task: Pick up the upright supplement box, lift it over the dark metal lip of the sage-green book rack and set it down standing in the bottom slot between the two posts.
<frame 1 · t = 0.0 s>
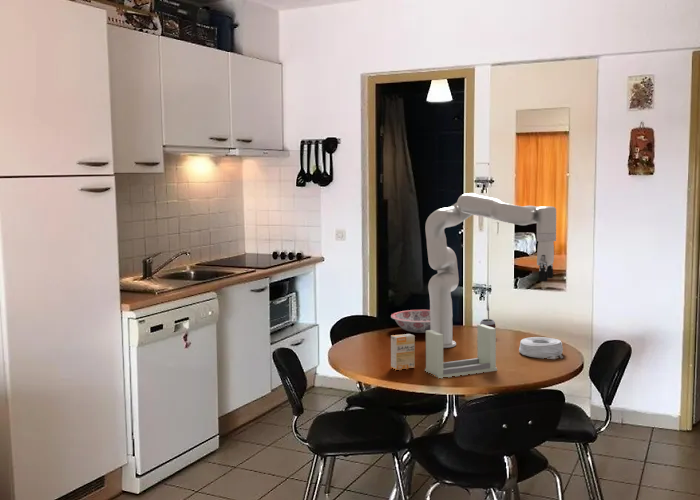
hand: (546, 279, 293), 31 cm above the table, tool pointing down, fingers open, 9 cm apart
ceramic bowl: (421, 332, 345), on the table
cable: (540, 354, 298), on the table
book rack: (460, 371, 275), on the table
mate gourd: (487, 337, 330), on the table
supplement box: (403, 369, 280), on the table
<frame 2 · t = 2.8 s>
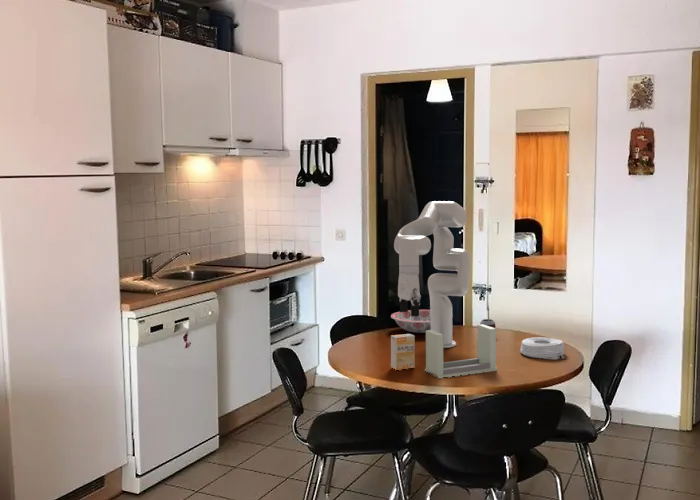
hand: (409, 313, 278), 21 cm above the table, tool pointing down, fingers open, 9 cm apart
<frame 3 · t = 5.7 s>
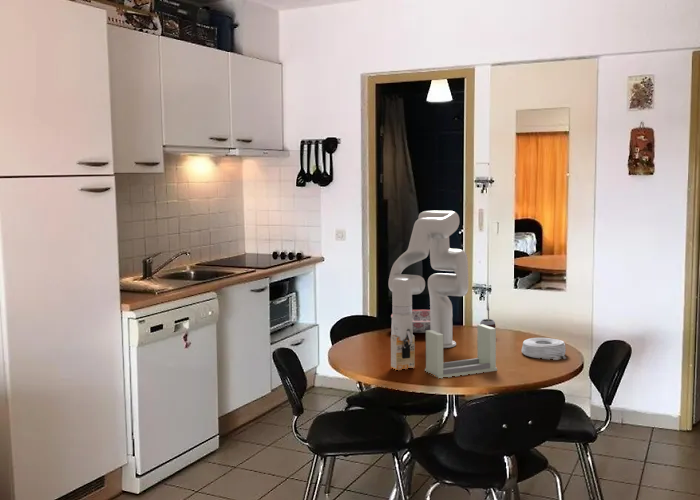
hand: (402, 355, 280), 5 cm above the table, tool pointing down, fingers closed on supplement box, 4 cm apart
supplement box: (403, 369, 280), on the table, touching gripper
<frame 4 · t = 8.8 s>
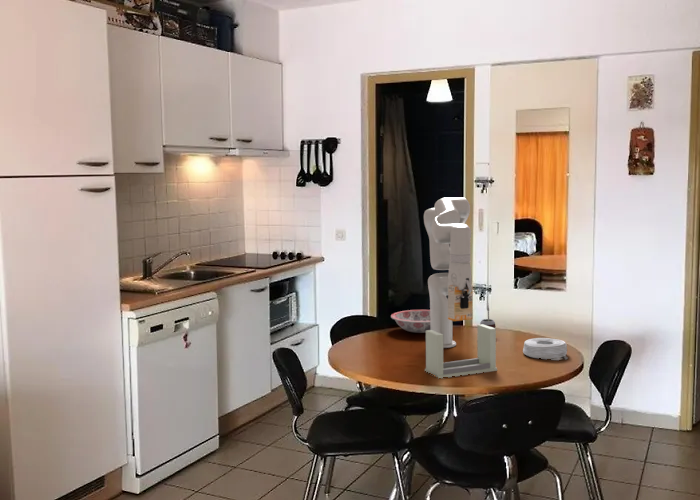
hand: (460, 306, 272), 25 cm above the table, tool pointing down, fingers closed on supplement box, 4 cm apart
supplement box: (460, 320, 273), point 20 cm above the table, touching gripper
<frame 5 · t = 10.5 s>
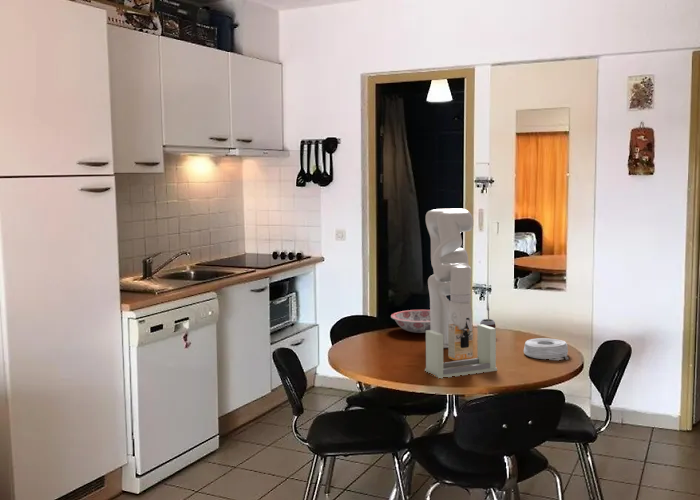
hand: (460, 345, 274), 10 cm above the table, tool pointing down, fingers closed on supplement box, 4 cm apart
supplement box: (460, 358, 274), point 5 cm above the table, touching gripper
when the fingers open (6 cm above the table, at t = 12.0 s): supplement box stays where it is, resting on book rack.
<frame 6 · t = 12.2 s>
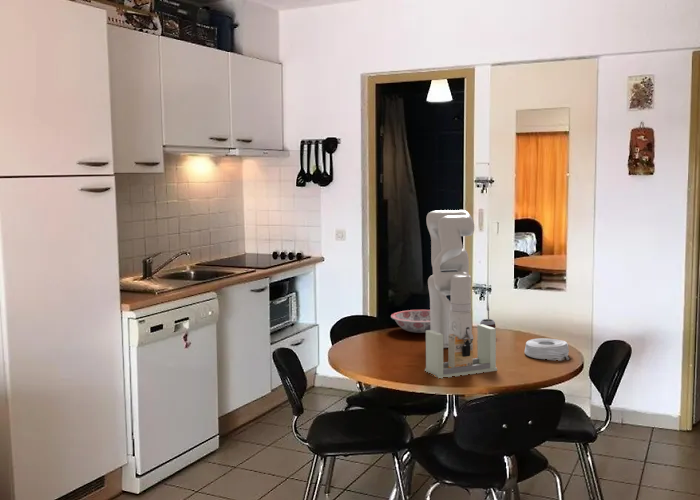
hand: (460, 353, 274), 7 cm above the table, tool pointing down, fingers open, 7 cm apart
supplement box: (460, 368, 275), point 1 cm above the table, touching book rack
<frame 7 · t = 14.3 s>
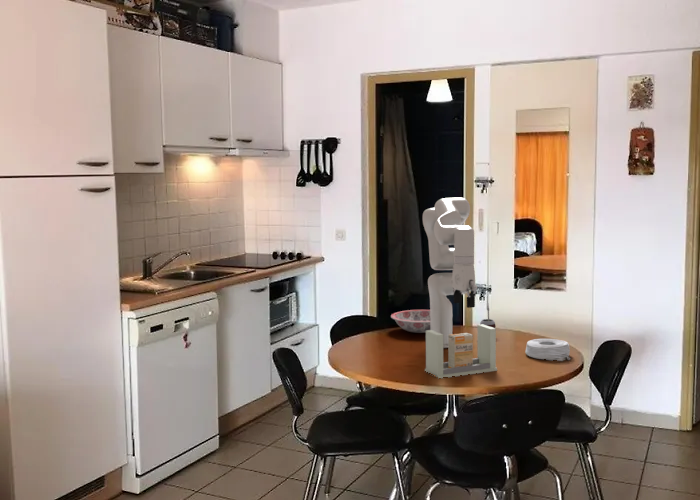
hand: (464, 305, 275), 25 cm above the table, tool pointing down, fingers open, 9 cm apart
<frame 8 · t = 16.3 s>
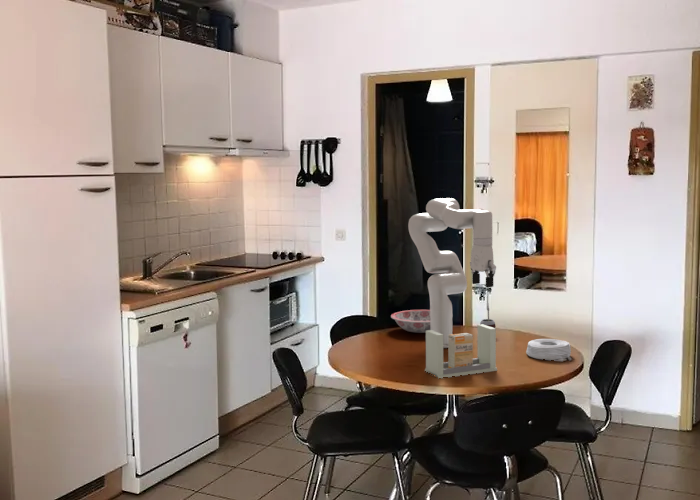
hand: (482, 285, 287), 30 cm above the table, tool pointing down, fingers open, 9 cm apart
at the end: supplement box inside the target area on the book rack (0.2 cm from its centre), point 0.8 cm above the book rack's base; supplement box tilted 0°; the gripper is holding nothing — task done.
